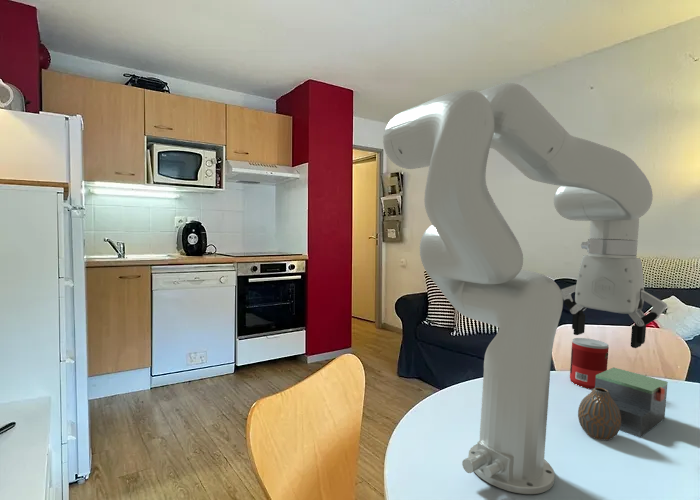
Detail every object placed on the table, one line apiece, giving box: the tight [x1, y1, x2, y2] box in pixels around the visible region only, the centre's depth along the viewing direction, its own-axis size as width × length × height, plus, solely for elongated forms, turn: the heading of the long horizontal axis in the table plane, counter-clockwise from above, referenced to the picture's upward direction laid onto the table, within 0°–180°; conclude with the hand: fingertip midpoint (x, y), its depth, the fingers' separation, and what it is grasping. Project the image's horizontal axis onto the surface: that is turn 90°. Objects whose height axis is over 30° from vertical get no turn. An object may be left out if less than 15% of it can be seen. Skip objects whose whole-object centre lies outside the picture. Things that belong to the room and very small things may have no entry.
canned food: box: [569, 337, 609, 390], centre depth 102 cm, size 8×8×11 cm
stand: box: [595, 367, 669, 438], centre depth 82 cm, size 14×11×8 cm
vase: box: [577, 387, 621, 441], centre depth 75 cm, size 7×7×9 cm
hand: (605, 340), depth 75 cm, fingers open, 9 cm apart
